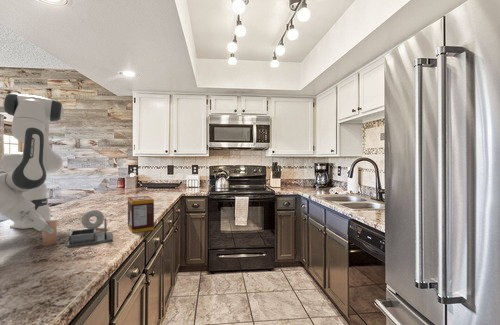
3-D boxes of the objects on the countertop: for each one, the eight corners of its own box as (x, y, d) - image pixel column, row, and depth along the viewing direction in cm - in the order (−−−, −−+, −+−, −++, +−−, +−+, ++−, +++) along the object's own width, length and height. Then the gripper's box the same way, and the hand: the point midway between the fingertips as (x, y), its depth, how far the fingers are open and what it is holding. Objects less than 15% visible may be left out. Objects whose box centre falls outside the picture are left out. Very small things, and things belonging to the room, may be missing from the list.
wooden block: (43, 243, 110) (43, 220, 110) (57, 241, 113) (57, 219, 113) (41, 246, 106) (41, 223, 106) (55, 244, 109) (55, 221, 108)
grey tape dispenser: (70, 238, 116) (70, 220, 116) (111, 233, 124) (111, 217, 124) (67, 247, 105) (67, 227, 105) (112, 241, 113) (112, 223, 113)
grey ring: (81, 231, 128) (81, 211, 128) (80, 230, 131) (80, 210, 130) (104, 228, 134) (104, 208, 134) (103, 226, 137) (103, 207, 137)
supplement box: (148, 223, 144) (147, 195, 144) (154, 230, 131) (154, 199, 131) (127, 226, 139) (127, 196, 138) (131, 233, 126) (131, 200, 125)
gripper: (30, 207, 97) (62, 228, 104) (25, 200, 112) (54, 219, 119) (14, 221, 94) (48, 242, 101) (11, 212, 109) (41, 231, 116)
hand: (51, 230), depth 110 cm, fingers open, 7 cm apart
